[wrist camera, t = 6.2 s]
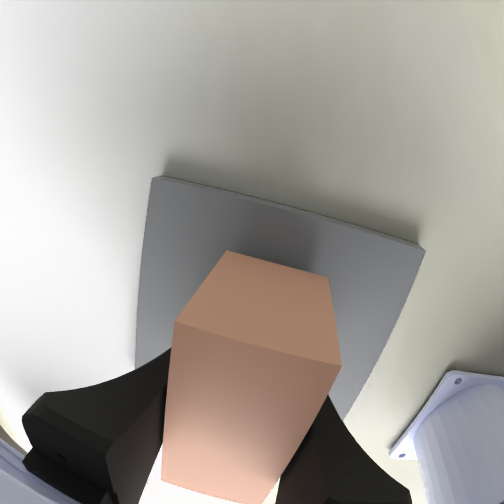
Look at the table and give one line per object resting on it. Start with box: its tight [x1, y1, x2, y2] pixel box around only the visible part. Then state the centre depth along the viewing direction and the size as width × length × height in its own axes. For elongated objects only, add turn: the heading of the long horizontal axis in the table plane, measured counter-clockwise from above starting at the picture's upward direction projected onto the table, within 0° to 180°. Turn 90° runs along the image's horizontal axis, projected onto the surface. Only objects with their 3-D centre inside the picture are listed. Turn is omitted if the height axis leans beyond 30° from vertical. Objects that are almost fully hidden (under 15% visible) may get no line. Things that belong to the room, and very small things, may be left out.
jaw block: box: [161, 250, 342, 504], centre depth 11 cm, size 4×8×6 cm, turn 167°
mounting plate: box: [135, 176, 426, 421], centre depth 15 cm, size 12×12×1 cm
